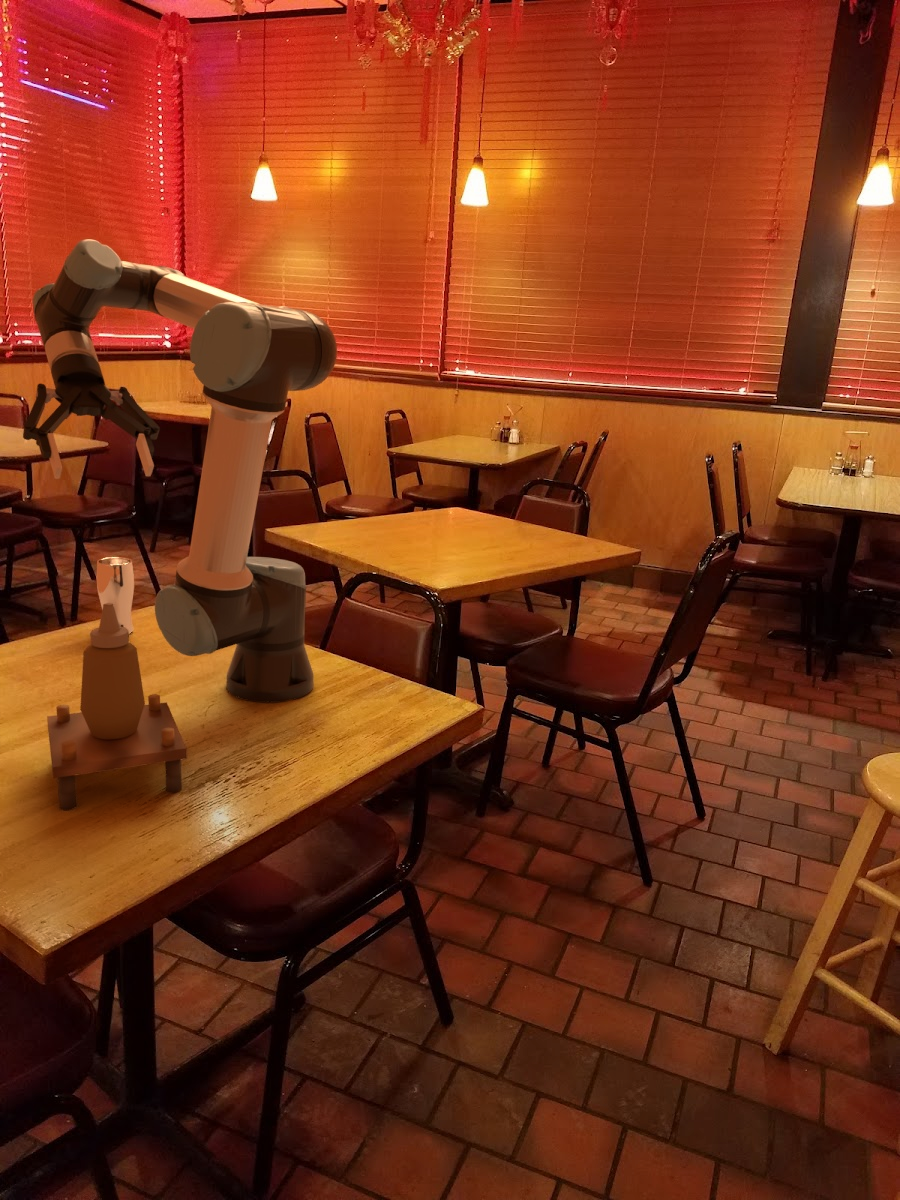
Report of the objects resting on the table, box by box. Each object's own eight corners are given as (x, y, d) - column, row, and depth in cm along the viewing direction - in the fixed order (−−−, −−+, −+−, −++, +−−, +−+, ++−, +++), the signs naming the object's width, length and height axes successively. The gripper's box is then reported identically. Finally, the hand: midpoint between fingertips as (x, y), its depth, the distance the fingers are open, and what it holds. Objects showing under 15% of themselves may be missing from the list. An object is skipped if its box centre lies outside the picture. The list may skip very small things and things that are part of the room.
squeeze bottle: (113, 714, 119) (107, 592, 114) (158, 727, 116) (154, 602, 111) (68, 736, 111) (59, 606, 106) (115, 749, 109) (109, 617, 104)
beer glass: (114, 639, 167) (110, 566, 163) (92, 632, 170) (88, 560, 166) (143, 631, 173) (140, 561, 168) (121, 624, 176) (118, 555, 172)
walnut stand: (167, 742, 126) (166, 689, 123) (187, 792, 112) (186, 734, 110) (50, 758, 118) (46, 703, 116) (55, 814, 105) (51, 752, 103)
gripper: (147, 385, 147) (179, 484, 140) (-13, 379, 132) (14, 489, 125) (156, 355, 142) (190, 456, 134) (-9, 345, 127) (19, 458, 120)
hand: (105, 472), depth 130 cm, fingers open, 13 cm apart
